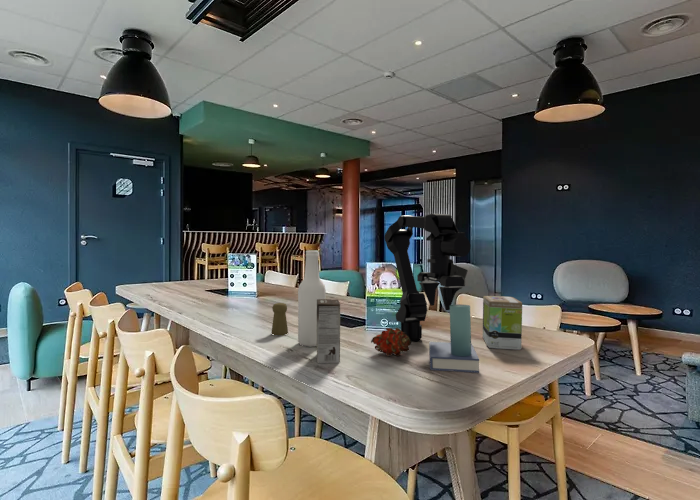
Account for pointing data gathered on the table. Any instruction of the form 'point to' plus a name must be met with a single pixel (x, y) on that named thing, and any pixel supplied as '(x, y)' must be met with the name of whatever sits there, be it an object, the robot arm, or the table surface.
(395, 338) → the dragon fruit
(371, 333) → the table surface
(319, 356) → the coffee box
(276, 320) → the cork
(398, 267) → the robot arm
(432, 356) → the book
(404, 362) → the table surface
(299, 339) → the alcohol
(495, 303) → the tea box
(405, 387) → the table surface
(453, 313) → the teal smooth upright cylinder
